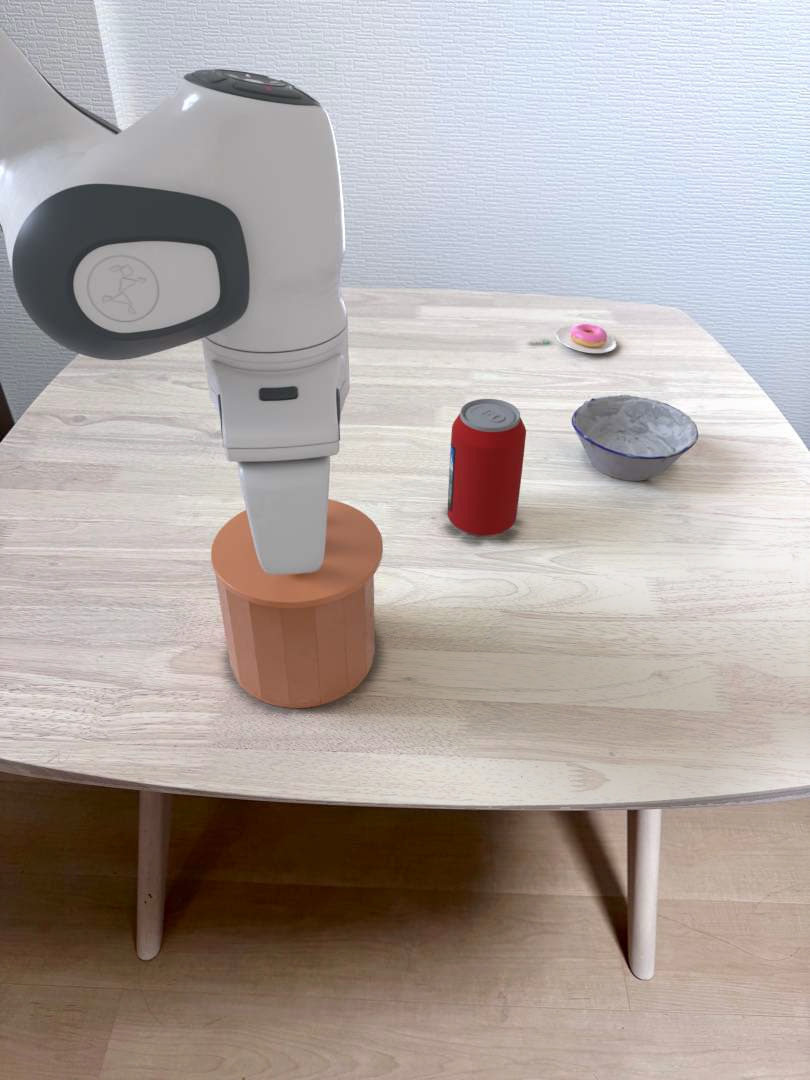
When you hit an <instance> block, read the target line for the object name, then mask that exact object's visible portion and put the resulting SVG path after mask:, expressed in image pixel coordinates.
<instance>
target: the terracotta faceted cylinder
mask: <svg viewBox="0 0 810 1080" xmlns="http://www.w3.org/2000/svg"><path fill="white" fill-rule="evenodd" d="M215 581H216V586H217V592H218V593H217V594H218V598H219V599H218V600H219V605H220V611H221V616H222V624H223V629H224V635H225V641H226V642H225V643H226V649H227V654H228V660H229V666H230V668H231V671H232V673H233V676H234V678H235V680H236V681H237V683H238V684H239V687H241V688H242V689H243V690H244V691H245V692H246V693H247V694H249V695H250V696H252V697H253V698H255V699H257V700H259V701H261V702H263V703H266V704H268V705H272V706H275V707H281V708H289V709H290V708H292V709H303V708H312V707H318V706H322V705H326V704H329V703H331V702H332V703H333V702H335V701H337V700H339V699H341V698H343V697H345V696H346V695H348V694H350V693H351V692H352V691H354V690H355V689H356V688H357V687H358V686H359V685H361V683H362V682H363V681H364V679H365V678H366V677H367V675H368V673H369V672H370V670H371V668H372V665H373V662H374V656H375V652H376V648H375V647H376V645H375V641H376V640H375V639H376V638H375V636H376V635H375V574H374V575H373V576H372V577H371V579H370V580H369V581H367V582H366V583H365V584H364V585H363V586H362V587H360V588H359V589H357V590H356V591H354V592H353V593H351V594H349V595H347V596H345V597H343V598H340V599H338V600H336V601H332V602H329V603H326V604H322V605H317V606H312V607H304V608H276V607H269V606H263V605H259V604H255V603H252V602H250V601H247V600H244V599H242V598H240V597H238V596H236V595H235V594H233V593H232V592H230V591H229V590H228V589H227V588H226V587H224V586H223V585H222V584H221V582H220V581H219V580H218V578H217V577H216V576H215Z"/></svg>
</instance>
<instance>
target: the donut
mask: <svg viewBox="0 0 810 1080" xmlns="http://www.w3.org/2000/svg"><path fill="white" fill-rule="evenodd" d="M555 337H556V339H557V340H558V341H559V342H560V343H561V344H562V345H564V346H566V347H567V348H569V349H572V350H574V351H577V352H579V353H580V352H581V353H586V354H605V353H609V352H612V351H614V350H615V349H616V348H617V341H616V339H615V338H614V337H613V336H612V335H610V334H609V333H607V331H606V330H605V329H604V328H602V327H600V326H599V325H596V324H591V323H578V324H574V325H571V324H570V325H565V326H562V327H560V328H558V329H557V330H556V331H555ZM534 343H535V341H533V344H534ZM536 343H537V344H538V343H539V344H542V343H543V340H539V341H536ZM544 344H548V340H545V341H544Z"/></svg>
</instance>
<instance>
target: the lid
mask: <svg viewBox="0 0 810 1080" xmlns="http://www.w3.org/2000/svg"><path fill="white" fill-rule="evenodd" d="M383 544H384V543H383V537H382V534H381V531H380V530H379V528H378V526H377V525H376V524H375V522H374V521H373V520H372V519H371V518H370V517H369V516H368V515H367V514H366V513H364V512H362V511H361V510H359V509H358V508H356V507H354V506H352V505H349V504H348V503H344V502H341V501H338V500H335V499H329V498H328V513H327V529H326V544H325V554H324V559H323V563H322V565H321V567H320V569H319V570H318V571H316V572H311V573H302V574H292V575H268V574H267V573H265V572H264V570H263V569H262V567H261V565H260V563H259V560H258V557H257V554H256V550H255V545H254V541H253V537H252V533H251V529H250V524H249V520H248V516H247V511H246V509H245V510H243V511H241V512H239V513H238V514H236V515H235V516H233V517H232V518H230V519H229V520H228V521H226V523H224V524H223V526H222V527H221V528H220V530H218V532H217V534H216V535H215V537H214V539H213V542H212V544H211V549H210V561H211V566H212V569H213V573H214V575H215V578H216V577H217V578H218V580H219V581H220V582H221V584H222V585H223V586H224V587H226V588H227V589H228V590H229V591H230V592H232V593H233V594H235V595H236V596H238V597H240V598H242V599H244V600H247V601H250V602H252V603H255V604H259V605H263V606H269V607H276V608H304V607H312V606H317V605H322V604H326V603H329V602H332V601H336V600H338V599H340V598H343V597H345V596H347V595H349V594H351V593H353V592H354V591H356V590H357V589H359V588H360V587H362V586H363V585H364V584H365V583H366V582H367V581H369V580H370V579H371V577H372V576H373V575H374V576H375V574H376V572H377V571H378V569H379V567H380V565H381V562H382V559H383V554H384V545H383Z"/></svg>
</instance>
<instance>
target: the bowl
mask: <svg viewBox="0 0 810 1080" xmlns="http://www.w3.org/2000/svg"><path fill="white" fill-rule="evenodd" d="M571 426H572V427H573V429H574V431H575V433H576V435H577V437H578V439H579V441H580V443H581V445H582V448H583V449H584V451H585V453H586V455H587V456H588V459H589V460H590V463H591V464H592V465H593V467H595V469H596V470H598V471H600V472H601V473H603V474H605V475H606V476H609V477H611V478H614V479H618V480H622V481H634V482H635V481H636V482H637V481H638V482H640V481H646V480H652V479H654V478H656V477H659V476H660V475H661V474H662V473H664V472H665V471H666V470H668V468H669V467H671V466H672V465H673V464H674V463H675V462H676V461H677V460H678V459H679V458H680V457H682V456H683V455H684V454H685V453H687V451H690V449H691V448H692V447H693V446H694V445H695V444H696V443H697V441H698V438H699V430H698V427H697V424H696V422H695V421H694V420H693V419H692V418H691V417H690V415H688V414H686V413H684V411H682V410H680V409H678V408H677V407H674V406H672V405H670V404H669V403H666V402H663V401H660V400H656V399H651V398H646V397H639V396H633V395H630V394H620V395H608V396H601V397H597V398H594V397H593V398H591V399H590V400H585V401H584V402H583V404H582V405H581V406H579V407H578V408H577V409H576V410H575V411H574V413H573V415H572V416H571Z"/></svg>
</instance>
